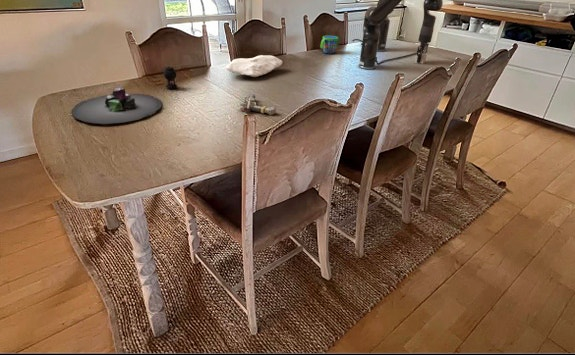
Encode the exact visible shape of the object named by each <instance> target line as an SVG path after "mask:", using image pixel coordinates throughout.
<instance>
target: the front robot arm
mask: <svg viewBox="0 0 575 355" xmlns="http://www.w3.org/2000/svg"><path fill="white" fill-rule="evenodd" d="M402 1H403V0H384V1H383V2H381V3H380V4H379V5H378V6H377V5H372V6H370V7H368V8H367V9H366V11H365V14H364V18H363V19H364V20H363V26H362V32H363V33H362V42H361V43H362V45H361V49H360V55H359V61H358V68H359V69H363V70H374V69H375V67H376V64H377V65H380V64H382V63H384V62H389V61H393V60H397V59H402V58H406V57H410V56H413V55H416V54H417V56H418V58H417V62H418V63H417V64H420V61H421V57H422V54H427V53H428V48H429V45H430V44H429V43H431V42H432V39H433V35H434V30H435V24H436V20H437V16H436V15H433V14H431V13H430V12H439V11H441V9H442V8H443V5H444V4H443V3H444V2H443V0H424V1H423V5H422V7H423V17H422V18H423V19H422V24H421V27H420V30H419V35H418V42H419V43H420V44H419V45H418V46H417V51H416V52H413V53H410V54H406V55H401V56H398V57H393V58H387V59H383V60H381V61H380V62H378V57H377V53H378V51H377V49H378V42H379V36H380V32H379V24H381V23H382V22H383V21H384V20H385V18H386V17H388V16H389V15H391V14H390V12H391V11H392V10H393V9H394V10H395V8H396V7H397V6H398V5H400V3H402ZM394 10H393V11H394ZM419 53H420V54H419Z"/></svg>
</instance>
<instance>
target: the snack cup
mask: <svg viewBox="0 0 575 355" xmlns="http://www.w3.org/2000/svg"><path fill="white" fill-rule="evenodd" d="M339 45H340V39H339V36H337V35H328V34H327V35H326V34H325V35H323V36H322V39H321V42H320V46H319V48H320V49H321V50H323V53H324V54H328V55H329V54H330V55H331V54H335V52H336V49H337V47H339Z"/></svg>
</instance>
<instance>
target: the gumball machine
mask: <svg viewBox="0 0 575 355" xmlns="http://www.w3.org/2000/svg"><path fill="white" fill-rule="evenodd" d="M176 69H177V67H176V66H174V67H173V66H166V67H165V68H164V67H162V68H161V70H162V71H163V76H162V78H165V79H166V80H167V81H166V84H165V86H164V87H165V88H167V89H168V90H174V89H176V88H177V89H179V85H178V84H176V83H177V82H178V78H177V71H176Z"/></svg>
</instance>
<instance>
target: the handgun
mask: <svg viewBox="0 0 575 355" xmlns="http://www.w3.org/2000/svg"><path fill="white" fill-rule="evenodd" d="M239 106H240V108H239V109H240V111H243V112H244V113H250V112H256V113H261V114H264V113H266V114H268V115H270V116H272V115H275V113H276V111H277V108H276V107H275V106H271V107H268V106H267V105H257V102H256V94H253V93H246V94H245V95H244V103H240V105H239Z"/></svg>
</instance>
